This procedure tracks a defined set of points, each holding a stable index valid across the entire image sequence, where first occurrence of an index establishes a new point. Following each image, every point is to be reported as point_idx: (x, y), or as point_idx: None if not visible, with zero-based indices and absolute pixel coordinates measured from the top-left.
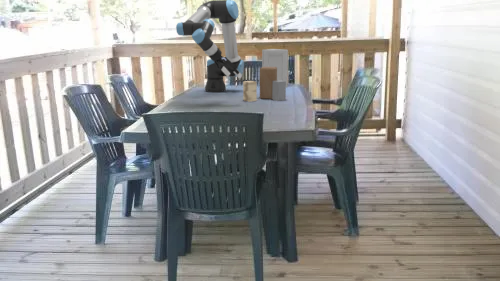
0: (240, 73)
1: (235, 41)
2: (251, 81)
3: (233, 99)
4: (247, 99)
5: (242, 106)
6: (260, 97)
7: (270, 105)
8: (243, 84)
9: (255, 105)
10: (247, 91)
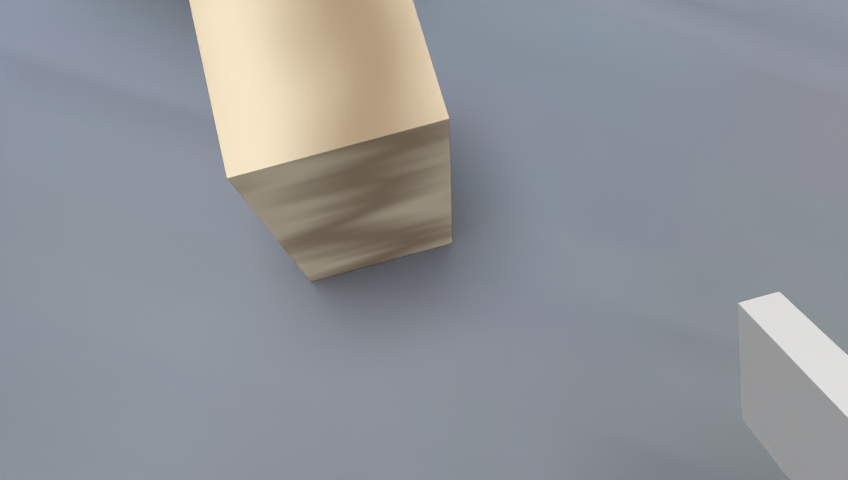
0: (845, 363)
1: None
2: (282, 6)
3: (157, 399)
4: (420, 242)
5: None
6: None
7: (835, 59)
8: (255, 198)
9: (791, 248)
10: (415, 201)
